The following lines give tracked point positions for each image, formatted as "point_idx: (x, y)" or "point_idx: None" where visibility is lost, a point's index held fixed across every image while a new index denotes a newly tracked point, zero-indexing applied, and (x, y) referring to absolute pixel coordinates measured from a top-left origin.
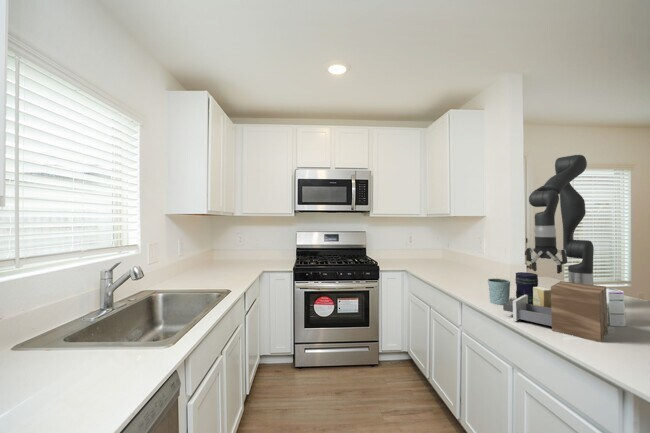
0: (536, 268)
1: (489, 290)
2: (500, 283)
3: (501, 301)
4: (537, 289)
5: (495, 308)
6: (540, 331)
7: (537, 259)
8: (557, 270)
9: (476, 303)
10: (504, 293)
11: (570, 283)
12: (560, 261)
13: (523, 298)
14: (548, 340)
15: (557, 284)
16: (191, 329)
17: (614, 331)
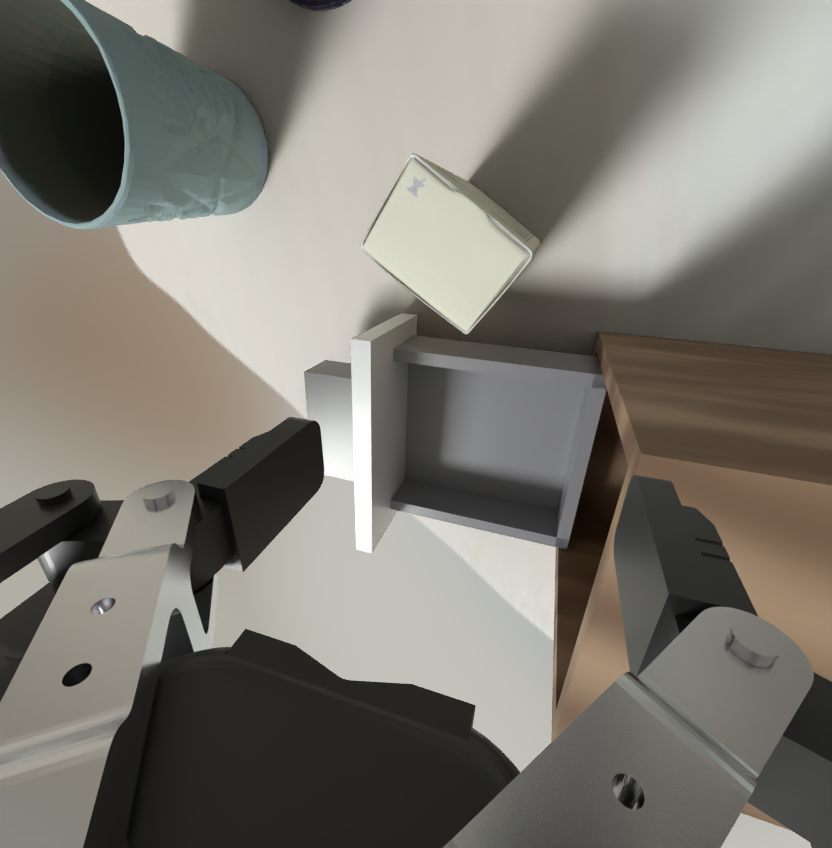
0: (299, 437)
1: (105, 180)
2: (115, 218)
3: (233, 206)
4: (409, 288)
5: (263, 312)
6: (515, 546)
7: (187, 547)
8: (624, 587)
9: (164, 281)
10: (202, 190)
11: (753, 559)
12: (771, 735)
13: (374, 427)
14: (551, 622)
15: (602, 656)
16: None
17: None
